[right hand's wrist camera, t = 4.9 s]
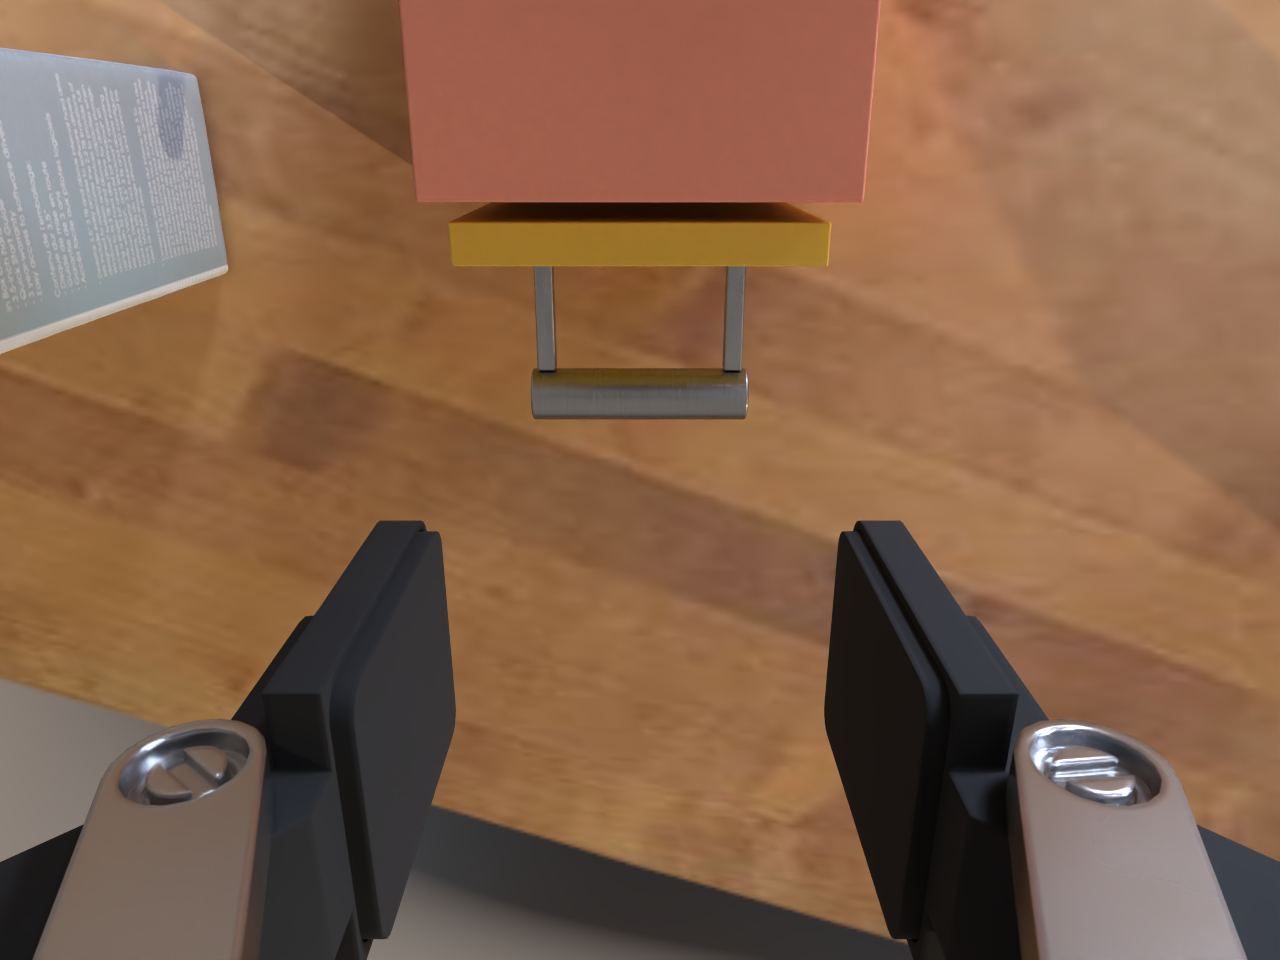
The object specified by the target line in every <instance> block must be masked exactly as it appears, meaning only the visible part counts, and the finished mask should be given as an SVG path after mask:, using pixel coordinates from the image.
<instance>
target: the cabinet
mask: <svg viewBox="0 0 1280 960" xmlns="http://www.w3.org/2000/svg"><path fill="white" fill-rule="evenodd" d="M880 2H881V0H399V9H400V21H401V33H402V45H403V56H404V68H405V80H406V92H407V103H408V115H409V127H410V139H411V151H412V162H413V174H414V186H415V198H416V201H417V202H863V200H864V189H865V178H866V166H867V154H868V142H869V131H870V119H871V107H872V95H873V84H874V72H875V60H876V49H877V37H878V25H879V13H880Z"/></svg>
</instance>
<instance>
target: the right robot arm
mask: <svg viewBox="0 0 1280 960" xmlns="http://www.w3.org/2000/svg"><path fill="white" fill-rule="evenodd" d="M455 716H456V706H455V693H454V681H453V670H452V658H451V646H450V635H449V623H448V612H447V600H446V588H445V577H444V565H443V553H442V543H441V537H440V534H439V532H437V531H427V530H426V526H425V524H424V522H423V521H379V522H378V523H377V524H376V525H375V527H374V528H373V530H372V531H371V533H370V534H369V536H368V537H367V539H366V540H365V542H364V543H363V545H362V546H361V548H360V549H359V551H358V552H357V553H356V555H355V556H354V558H353V559H352V561H351V562H350V564H349V565H348V567H347V568H346V570H345V571H344V573H343V574H342V576H341V577H340V579H339V580H338V581H337V583H336V584H335V586H334V587H333V589H332V590H331V592H330V593H329V595H328V596H327V598H326V599H325V601H324V602H323V604H322V605H321V607H320V608H319V609H318V611H317V612H316V614H315V615H314V616H305V617H304V618H303V619H302V620H301V621H300V622H299V624H298V625H297V626H296V628H295V629H294V631H293V632H292V634H291V635H290V636H289V638H288V639H287V641H286V642H285V644H284V645H283V646H282V648H281V649H280V651H279V652H278V654H277V655H276V656H275V658H274V659H273V661H272V662H271V664H270V665H269V666H268V668H267V669H266V671H265V672H264V674H263V675H262V676H261V678H260V679H259V681H258V682H257V684H256V685H255V686H254V688H253V689H252V691H251V692H250V694H249V695H248V696H247V698H246V699H245V701H244V702H243V704H242V705H241V706H240V708H239V709H238V711H237V712H236V714H235V715H234V716H233V718H232V719H231V720H226V719H212V720H199V721H193V722H189V723H185V724H181V725H177V726H173V727H170V728H168V729H165V730H163V731H160V732H158V733H155V734H153V735H150V736H148V737H146V738H145V739H143V740H141V741H140V742H138V743H136V744H135V745H133V746H131V747H130V748H128V749H127V750H125V751H124V752H123V753H122V754H121V755H120V756H119V757H118V758H117V759H115V760H114V761H113V762H112V763H111V764H110V766H109V767H108V769H107V770H106V772H105V774H104V775H103V777H102V778H101V781H100V783H99V786H98V789H97V791H96V794H95V797H94V799H93V802H92V804H91V807H90V810H89V812H88V815H87V817H86V820H85V823H84V825H81V826H79V827H77V828H75V829H73V830H70V831H68V832H66V833H64V834H62V835H59V836H57V837H55V838H53V839H50V840H48V841H46V842H44V843H42V844H39V845H37V846H35V847H33V848H31V849H28V850H26V851H24V852H22V853H20V854H17V855H15V856H13V857H11V858H9V859H6V860H4V861H2V862H0V960H367V957H368V954H369V951H370V948H371V945H372V942H373V939H387V938H388V937H389V935H390V933H391V930H392V928H393V924H394V921H395V918H396V915H397V912H398V908H399V905H400V902H401V899H402V896H403V892H404V889H405V886H406V883H407V880H408V876H409V873H410V870H411V867H412V864H413V860H414V857H415V854H416V851H417V848H418V844H419V841H420V838H421V835H422V832H423V829H424V825H425V822H426V819H427V816H428V813H429V809H430V806H431V803H432V800H433V797H434V793H435V790H436V787H437V784H438V781H439V777H440V774H441V771H442V768H443V765H444V761H445V758H446V755H447V752H448V749H449V745H450V742H451V739H452V736H453V732H454V726H455ZM824 717H825V726H826V732H827V736H828V739H829V742H830V745H831V749H832V752H833V755H834V758H835V761H836V765H837V768H838V771H839V774H840V777H841V781H842V784H843V787H844V790H845V793H846V797H847V800H848V803H849V806H850V809H851V813H852V816H853V819H854V822H855V825H856V829H857V832H858V835H859V838H860V841H861V845H862V848H863V851H864V854H865V857H866V861H867V864H868V867H869V870H870V873H871V877H872V880H873V883H874V886H875V889H876V893H877V896H878V899H879V902H880V905H881V909H882V912H883V915H884V918H885V921H886V925H887V928H888V930H889V933H890V935H891V937H892V938H893V939H907V942H908V945H909V948H910V951H911V954H912V957H913V960H1280V862H1278V861H1276V860H1274V859H1272V858H1269V857H1267V856H1265V855H1263V854H1260V853H1258V852H1256V851H1254V850H1252V849H1249V848H1247V847H1245V846H1243V845H1241V844H1238V843H1236V842H1234V841H1232V840H1230V839H1227V838H1225V837H1223V836H1221V835H1218V834H1216V833H1214V832H1212V831H1210V830H1207V829H1205V828H1203V827H1201V826H1199V825H1196V823H1195V820H1194V817H1193V815H1192V812H1191V810H1190V807H1189V804H1188V802H1187V799H1186V796H1185V794H1184V791H1183V789H1182V786H1181V783H1180V781H1179V778H1178V777H1177V775H1176V774H1175V772H1174V770H1173V769H1172V767H1171V766H1170V764H1169V763H1168V762H1167V761H1166V760H1165V759H1164V758H1162V757H1161V756H1160V755H1159V754H1158V753H1157V752H1156V751H1155V750H1153V749H1152V748H1150V747H1149V746H1147V745H1145V744H1144V743H1142V742H1140V741H1139V740H1137V739H1135V738H1134V737H1132V736H1130V735H1127V734H1125V733H1122V732H1120V731H1117V730H1115V729H1112V728H1110V727H1107V726H1103V725H1099V724H1095V723H1091V722H1087V721H1081V720H1068V719H1054V720H1049V719H1048V718H1047V716H1046V715H1045V714H1044V712H1043V711H1042V709H1041V708H1040V706H1039V705H1038V704H1037V702H1036V701H1035V699H1034V698H1033V696H1032V695H1031V694H1030V692H1029V691H1028V689H1027V688H1026V686H1025V685H1024V684H1023V682H1022V681H1021V679H1020V678H1019V676H1018V675H1017V674H1016V672H1015V671H1014V669H1013V668H1012V666H1011V665H1010V664H1009V662H1008V661H1007V659H1006V658H1005V656H1004V655H1003V654H1002V652H1001V651H1000V649H999V648H998V646H997V645H996V644H995V642H994V641H993V639H992V638H991V636H990V635H989V634H988V632H987V631H986V629H985V628H984V626H983V625H982V624H981V622H980V621H979V620H978V619H977V618H976V617H975V616H966V615H965V614H964V612H963V611H962V609H961V608H960V607H959V605H958V604H957V602H956V601H955V599H954V598H953V596H952V595H951V593H950V592H949V590H948V589H947V587H946V586H945V584H944V583H943V581H942V580H941V579H940V577H939V576H938V574H937V573H936V571H935V570H934V568H933V567H932V565H931V564H930V562H929V561H928V559H927V558H926V556H925V555H924V553H923V552H922V551H921V549H920V548H919V546H918V545H917V543H916V542H915V540H914V539H913V537H912V536H911V534H910V533H909V531H908V530H907V528H906V527H905V526H904V524H903V523H902V522H901V521H857V522H856V524H855V526H854V530H853V531H843V532H841V534H840V537H839V543H838V553H837V565H836V576H835V588H834V600H833V611H832V623H831V635H830V646H829V658H828V669H827V681H826V693H825V706H824Z"/></svg>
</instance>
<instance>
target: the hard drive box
mask: <svg viewBox="0 0 1280 960" xmlns="http://www.w3.org/2000/svg"><path fill="white" fill-rule="evenodd" d="M227 271H228V264H227V256H226V249H225V243H224V237H223V231H222V225H221V218H220V212H219V206H218V199H217V193H216V187H215V181H214V175H213V169H212V163H211V156H210V150H209V144H208V138H207V131H206V125H205V120H204V114H203V109H202V104H201V99H200V93H199V87H198V82H197V78H196V77H195V76H194V75H192V74H190V73H184V72H179V71H173V70H166V69H159V68H152V67H144V66H137V65H129V64H121V63H114V62H106V61H98V60H91V59H83V58H76V57H68V56H61V55H53V54H46V53H38V52H30V51H22V50H14V49H6V48H0V354H1V353H4V352H7V351H10V350H13V349H15V348H18V347H21V346H24V345H27V344H30V343H32V342H35V341H38V340H41V339H43V338H46V337H49V336H52V335H54V334H57V333H60V332H62V331H65V330H68V329H71V328H74V327H77V326H80V325H83V324H85V323H88V322H91V321H94V320H96V319H99V318H102V317H105V316H107V315H110V314H113V313H116V312H119V311H121V310H124V309H127V308H130V307H133V306H136V305H138V304H141V303H144V302H147V301H150V300H153V299H156V298H159V297H161V296H164V295H167V294H170V293H172V292H175V291H178V290H181V289H184V288H186V287H189V286H192V285H195V284H198V283H200V282H203V281H206V280H208V279H211V278H214V277H217V276H220V275H222V274H225V273H226V272H227Z"/></svg>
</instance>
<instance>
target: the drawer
mask: <svg viewBox="0 0 1280 960" xmlns="http://www.w3.org/2000/svg"><path fill="white" fill-rule="evenodd" d="M448 227H449V241H450V254H451V265H452V266H534V287H535V311H536V336H537V360H538V368H535V369H534V370H533V372H532V378H531V406H532V414H533V417H534V419H745V418H746V415H747V410H748V375H747V371H746V369H742V346H743V322H744V298H745V274H746V266H828V258H829V245H830V231H831V222H828V221H826V220H824V219H822V218H820V217H818V216H816V215H814V214H811V213H809V212H807V211H805V210H803V209H801V208H799V207H796V206H794V205H792V204H790V203H788V202H492V203H489V204H487V205H485V206H483V207H481V208H479V209H476V210H474V211H472V212H470V213H468V214H466V215H463V216H461V217H459V218H457V219H455V220H453V221H451V222H449V223H448ZM554 266H726V275H725V304H724V334H723V364H722V366H723V368H556V367H557V351H556V321H555V291H554Z"/></svg>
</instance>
